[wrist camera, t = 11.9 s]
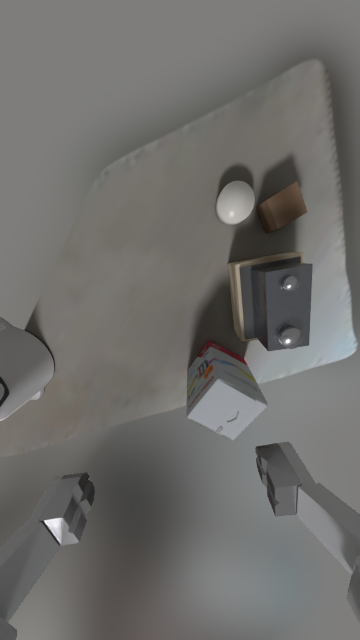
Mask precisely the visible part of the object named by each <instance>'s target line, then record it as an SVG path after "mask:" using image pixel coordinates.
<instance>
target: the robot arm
mask: <svg viewBox="0 0 360 640" xmlns="http://www.w3.org/2000/svg"><path fill="white" fill-rule="evenodd" d="M53 373H54V362H53V359H52V356H51V354H50V352H49V351H48V349H47V348H46V346H45V345H44V344H43V343H42V342H41V341H40V340H39V339H37V338H36V337H35V336H33V335H32V334H30V333H28V332H26V331H24V330H21V329H18V328H16V327H13V326H12V325H11V324H10V323H8V322H7V321H6V320H4V319H3V318H1V317H0V421H2V420H4V419H6V418H7V417H8V416H10V415H11V414H12V413H13V412H15V411H16V410H17V409H19V408H20V407H21V406H22V405H24V404H25V403H26V402H27V401H29V400H30V399H38V398H39V397H41V396H42V395H43V392H44V387H45V385H46V384H47V383H48V382H49V381H50V380H51V378H52V376H53ZM255 449H256V454H257V458H256V463H257V468H258V472H259V475H260V478H261V480H262V483H263V484H264V485H265V486H266V487H267V495H268V499H269V501H270V504H271V506H272V509H273V511H274V514H275V516H285V515H295V514H297V517H298V518H299V519H300V520H301V521H302V522H303V523H304V524H305V525H306V526H307V527H308V528H309V530H310V531H311V532H312V533H313V534H314V535H315V536H316V537H317V538H318V539H319V541H320V542H321V543H322V544H323V545H324V546H325V547H326V548H327V549H328V550H329V551H330V552H331V554H332V555H333V556H334V557H335V558H336V559H337V560H338V561H339V562H340V563H341V565H342V566H343V567H344V568H345V569H346V570H347V571H348V572H349V573H350V574H351V575H352V576H351V580H350V584H349V588H348V594H347V599H348V601H349V604H350V606H351V608H352V610H353V612H354V614H355V616H356V618H357V620H358V622H359V624H360V514H359V513H357V512H356V511H355V510H353V509H352V508H351V507H350V506H348V505H347V504H346V503H344V502H343V501H342V500H340V499H339V498H338V497H337V496H335V495H334V494H333V493H332V492H330V491H329V490H328V489H326V488H325V487H324V486H323V485H321V484H320V483H315V481H314V480H313V478H312V477H311V475H310V473H309V472H308V470H307V469H306V467H305V466H304V464H303V462H302V461H301V459H300V457H299V456H298V454H297V453H296V451H295V449H294V448H293V446H292V445H291V444H290V443H289V442H283V443H275V444H269V445H263V446H257V447H256V448H255ZM88 479H89V475H88V473H87V472H84V473H77V474H70V475H62V476H56V477H54V478H53V479H52V480H51V481H50V483H49V485H48V487H47V488H46V490H45V492H44V493H43V495H42V497H41V499H40V500H39V502H38V504H37V506H36V507H35V509H34V511H33V513H32V514H31V516H30V518H29V520H28V522H27V523H26V524H23V525H22V526H21V527H20V528H19V529H18V530H17V531H16V532H15V533H14V534H13V535H12V536H11V537H10V538H9V539H8V540H7V541H6V542H5V543H4V544H3V545H2V546H1V547H0V640H16V637H17V630H16V629H15V628H14V627H13V626H11V625H10V624H9V623H8V622H9V620H10V619H11V617H12V616H13V615H14V613H15V612H16V610H17V609H18V607H19V606H20V604H21V603H22V602H23V600H24V598H25V597H26V596H27V594H28V593H29V591H30V590H31V588H32V587H33V586H34V584H35V583H36V581H37V580H38V579H39V577H40V576H41V574H42V573H43V571H44V570H45V568H46V567H47V566H48V564H49V563H50V561H51V560H52V558H53V557H54V555H55V554H56V553H57V551H58V550H59V548H60V546H62V545H68V544H73V543H79V541H80V539H81V536H82V533H83V531H84V528H85V525H86V522H87V519H86V514H87V512H88V511H89V510H90V509H91V507H92V504H93V501H94V496H95V487H94V484H93V482H91V481H89V480H88Z"/></svg>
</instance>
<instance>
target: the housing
mask: <svg viewBox="0 0 360 640" xmlns="http://www.w3.org/2000/svg"><path fill="white" fill-rule="evenodd" d="M251 286H252V303H253V319H254V335H255V337H256V338H257V339H258V340H259V341H260V342H261V343H262V345H263V346H264V347H265V348H266V349H267V350H268V351H273V350H280V349H287V348H289V349H293V348H296V347H301V346H308V345H309V332H310V309H311V287H312V264H305V263H283V264H278V265H272V266H267V267H262V268H256V269H251Z"/></svg>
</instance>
